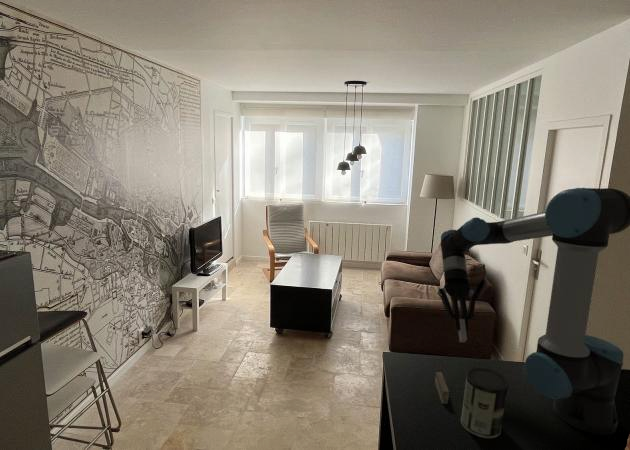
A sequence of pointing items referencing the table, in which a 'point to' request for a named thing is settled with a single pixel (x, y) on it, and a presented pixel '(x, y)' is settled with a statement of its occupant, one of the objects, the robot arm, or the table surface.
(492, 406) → the coffee can
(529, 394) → the table surface
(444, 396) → the chute
